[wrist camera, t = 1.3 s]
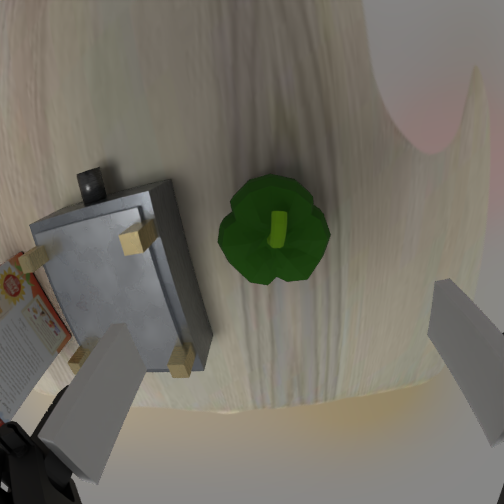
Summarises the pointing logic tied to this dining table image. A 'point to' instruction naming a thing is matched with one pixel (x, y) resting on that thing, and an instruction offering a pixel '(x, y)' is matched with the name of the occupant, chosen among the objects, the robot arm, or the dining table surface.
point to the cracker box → (24, 336)
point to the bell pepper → (273, 231)
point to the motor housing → (125, 273)
